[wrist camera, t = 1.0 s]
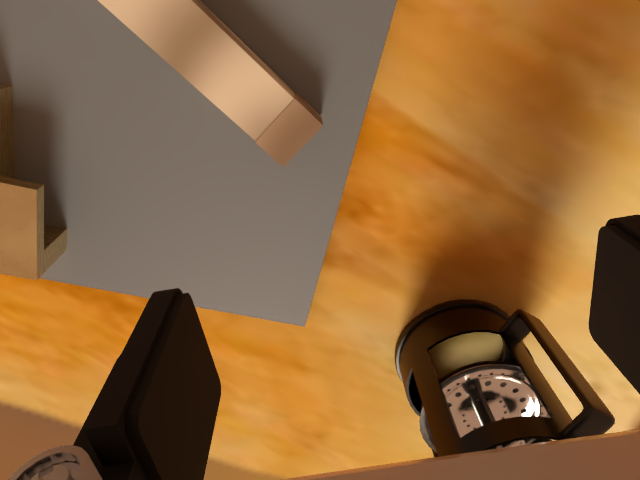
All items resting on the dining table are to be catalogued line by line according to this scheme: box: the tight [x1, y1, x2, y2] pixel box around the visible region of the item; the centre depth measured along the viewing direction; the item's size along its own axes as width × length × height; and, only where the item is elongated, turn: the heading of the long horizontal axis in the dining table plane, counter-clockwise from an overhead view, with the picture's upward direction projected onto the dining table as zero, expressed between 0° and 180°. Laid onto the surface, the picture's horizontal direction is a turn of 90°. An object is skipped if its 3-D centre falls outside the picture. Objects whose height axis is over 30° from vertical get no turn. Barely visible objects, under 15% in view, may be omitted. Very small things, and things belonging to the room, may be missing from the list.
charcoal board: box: [0, 0, 397, 327], centre depth 27 cm, size 25×21×1 cm
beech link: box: [98, 0, 323, 167], centre depth 24 cm, size 18×4×2 cm, turn 46°
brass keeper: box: [0, 83, 67, 280], centre depth 26 cm, size 10×4×4 cm, turn 166°
